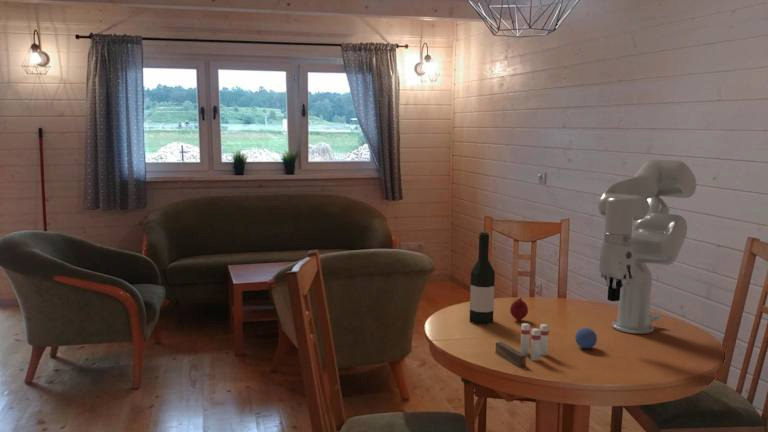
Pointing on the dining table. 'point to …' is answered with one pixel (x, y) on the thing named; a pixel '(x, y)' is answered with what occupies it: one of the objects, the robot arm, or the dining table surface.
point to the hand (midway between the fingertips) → (613, 300)
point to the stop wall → (511, 354)
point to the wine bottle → (482, 285)
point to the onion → (519, 309)
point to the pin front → (544, 339)
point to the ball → (586, 338)
